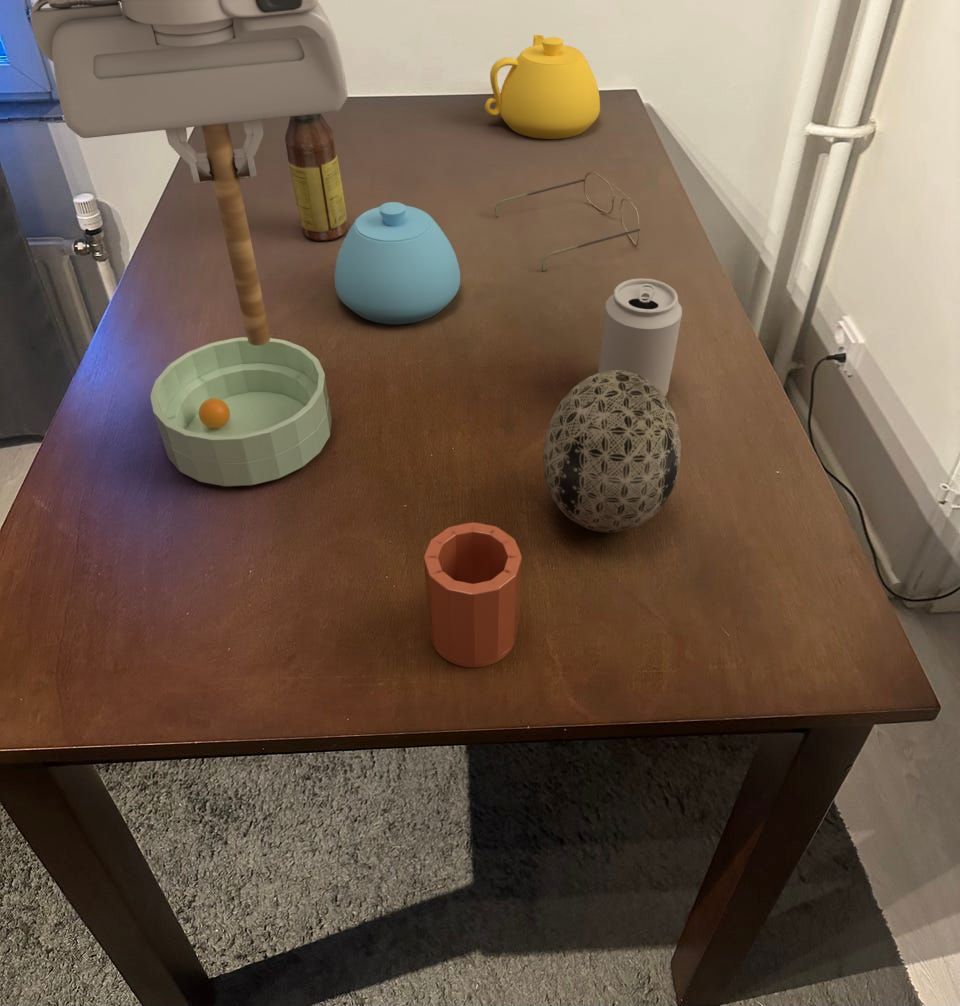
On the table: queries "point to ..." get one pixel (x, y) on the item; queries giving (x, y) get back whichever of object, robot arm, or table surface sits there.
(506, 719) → the table surface
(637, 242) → the eyeglasses
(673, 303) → the can
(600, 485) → the decorative egg
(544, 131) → the teapot
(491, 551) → the utensil pot
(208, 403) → the bead
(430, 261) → the sugar bowl
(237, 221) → the stirring stick
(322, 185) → the sauce bottle
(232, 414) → the bowl
